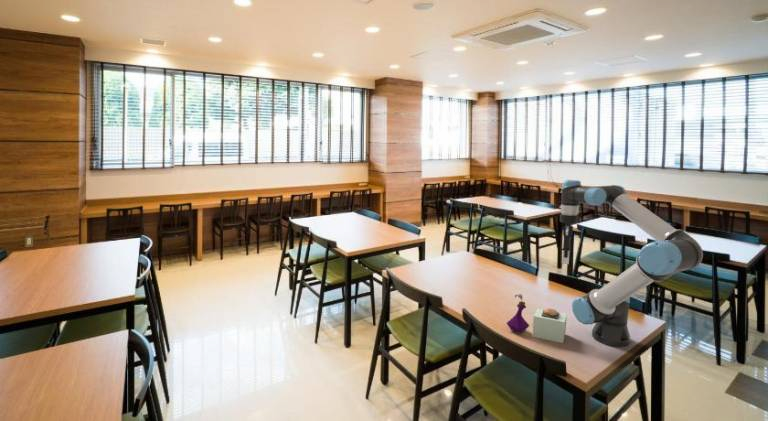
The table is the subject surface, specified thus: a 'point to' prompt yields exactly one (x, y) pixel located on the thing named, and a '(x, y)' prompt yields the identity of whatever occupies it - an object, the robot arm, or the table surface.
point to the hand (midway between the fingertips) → (565, 263)
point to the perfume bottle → (518, 318)
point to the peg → (550, 312)
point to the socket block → (549, 326)
